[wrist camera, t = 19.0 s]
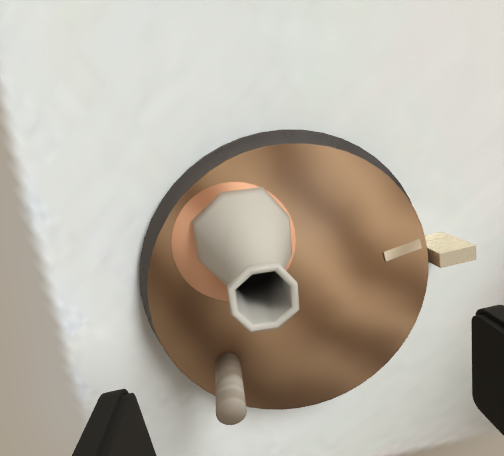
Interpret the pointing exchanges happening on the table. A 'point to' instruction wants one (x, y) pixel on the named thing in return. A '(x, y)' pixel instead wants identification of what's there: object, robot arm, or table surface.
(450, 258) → the base
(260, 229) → the flask
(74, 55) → the table surface
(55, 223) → the table surface
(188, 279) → the turntable
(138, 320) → the table surface
